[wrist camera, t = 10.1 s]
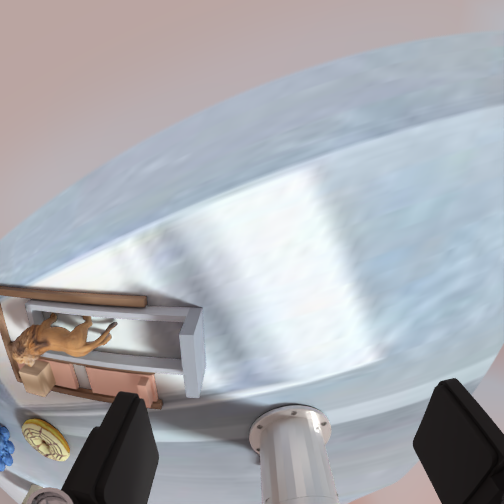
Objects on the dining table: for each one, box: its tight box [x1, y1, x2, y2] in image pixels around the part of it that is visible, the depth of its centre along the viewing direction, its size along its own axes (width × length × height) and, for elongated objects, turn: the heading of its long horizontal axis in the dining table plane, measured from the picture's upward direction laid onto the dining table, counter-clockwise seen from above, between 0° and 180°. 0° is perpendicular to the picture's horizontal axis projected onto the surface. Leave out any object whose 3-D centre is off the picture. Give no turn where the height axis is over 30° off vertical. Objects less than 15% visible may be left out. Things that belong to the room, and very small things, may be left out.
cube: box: [19, 360, 56, 397], centre depth 38 cm, size 4×4×4 cm
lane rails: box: [0, 286, 163, 410], centre depth 39 cm, size 18×28×1 cm, turn 90°
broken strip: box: [17, 358, 158, 408], centre depth 39 cm, size 5×26×3 cm, turn 89°
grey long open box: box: [25, 299, 206, 398], centre depth 35 cm, size 8×26×7 cm, turn 90°
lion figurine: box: [12, 313, 117, 367], centre depth 34 cm, size 15×5×9 cm, turn 102°
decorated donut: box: [22, 418, 70, 461], centre depth 43 cm, size 10×11×4 cm
